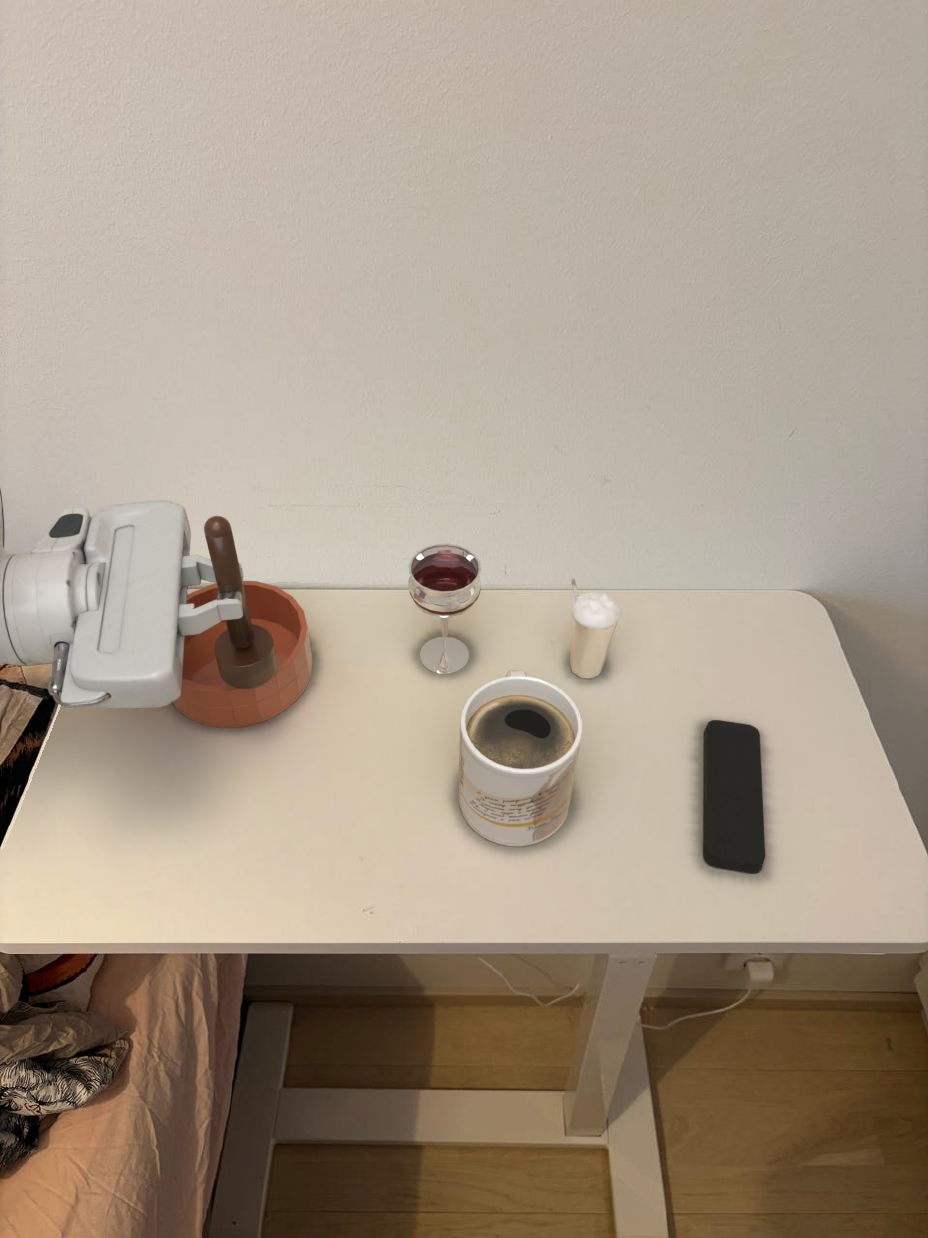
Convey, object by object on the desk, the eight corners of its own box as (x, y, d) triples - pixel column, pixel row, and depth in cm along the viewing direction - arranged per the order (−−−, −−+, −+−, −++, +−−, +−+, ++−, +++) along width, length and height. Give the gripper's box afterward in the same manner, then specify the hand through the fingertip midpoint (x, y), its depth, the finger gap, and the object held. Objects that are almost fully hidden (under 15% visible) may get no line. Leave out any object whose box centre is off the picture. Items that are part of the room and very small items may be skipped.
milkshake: (577, 638, 96) (588, 567, 88) (618, 667, 93) (632, 596, 86) (547, 661, 93) (556, 590, 86) (588, 691, 91) (601, 621, 84)
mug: (429, 802, 82) (428, 725, 74) (508, 716, 89) (515, 637, 81) (528, 868, 78) (538, 794, 70) (603, 773, 84) (620, 696, 76)
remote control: (761, 878, 78) (756, 732, 88) (766, 868, 76) (761, 721, 86) (701, 868, 78) (703, 724, 88) (705, 858, 77) (707, 713, 87)
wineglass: (468, 625, 97) (471, 538, 88) (486, 673, 92) (490, 586, 84) (404, 636, 95) (400, 549, 87) (419, 686, 91) (416, 599, 82)
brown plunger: (223, 695, 80) (184, 546, 67) (216, 652, 83) (177, 503, 70) (282, 682, 81) (253, 534, 68) (272, 641, 84) (244, 492, 72)
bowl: (171, 742, 86) (158, 705, 82) (161, 633, 95) (148, 595, 91) (324, 709, 89) (318, 672, 85) (299, 607, 98) (293, 569, 94)
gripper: (29, 681, 64) (234, 660, 66) (68, 494, 78) (237, 480, 79) (57, 736, 68) (248, 715, 70) (89, 550, 82) (248, 536, 84)
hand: (242, 589), depth 75 cm, fingers closed on brown plunger
